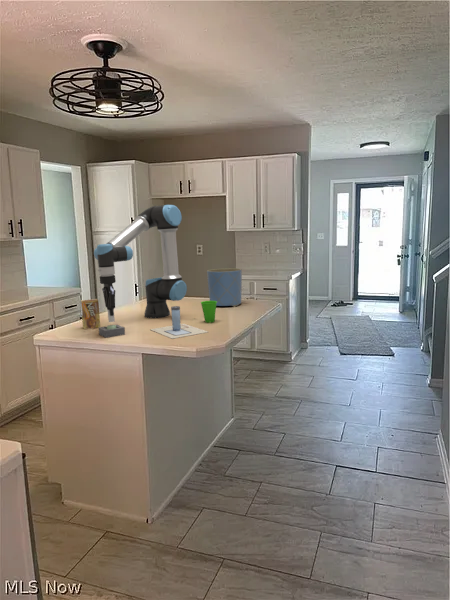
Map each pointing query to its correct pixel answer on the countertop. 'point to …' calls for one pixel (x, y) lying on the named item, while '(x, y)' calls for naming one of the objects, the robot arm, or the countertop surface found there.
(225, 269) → the planter
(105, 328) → the button housing
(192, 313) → the countertop surface
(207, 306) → the cup
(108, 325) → the button
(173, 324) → the blue bottle
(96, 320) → the candy box
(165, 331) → the picture sheet
